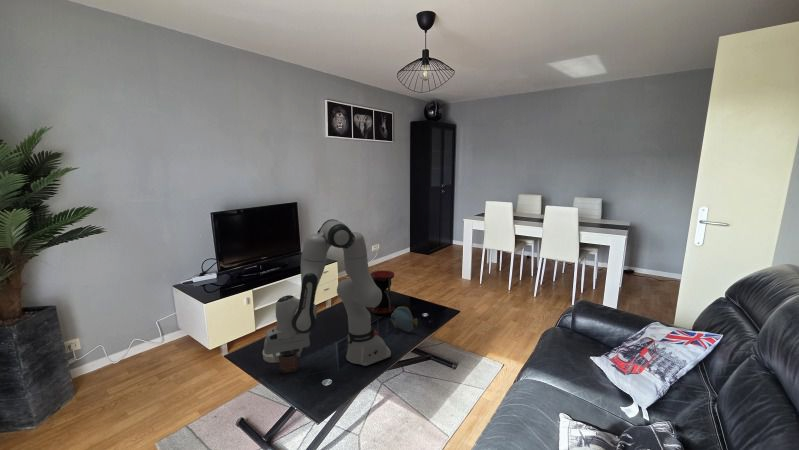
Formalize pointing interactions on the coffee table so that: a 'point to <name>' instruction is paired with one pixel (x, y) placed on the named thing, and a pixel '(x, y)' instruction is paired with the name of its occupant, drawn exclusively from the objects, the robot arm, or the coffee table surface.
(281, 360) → the lighter
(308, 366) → the coffee table surface
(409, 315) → the decorative fish sculpture
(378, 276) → the hourglass
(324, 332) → the coffee table surface
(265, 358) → the ring dish
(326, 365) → the coffee table surface
